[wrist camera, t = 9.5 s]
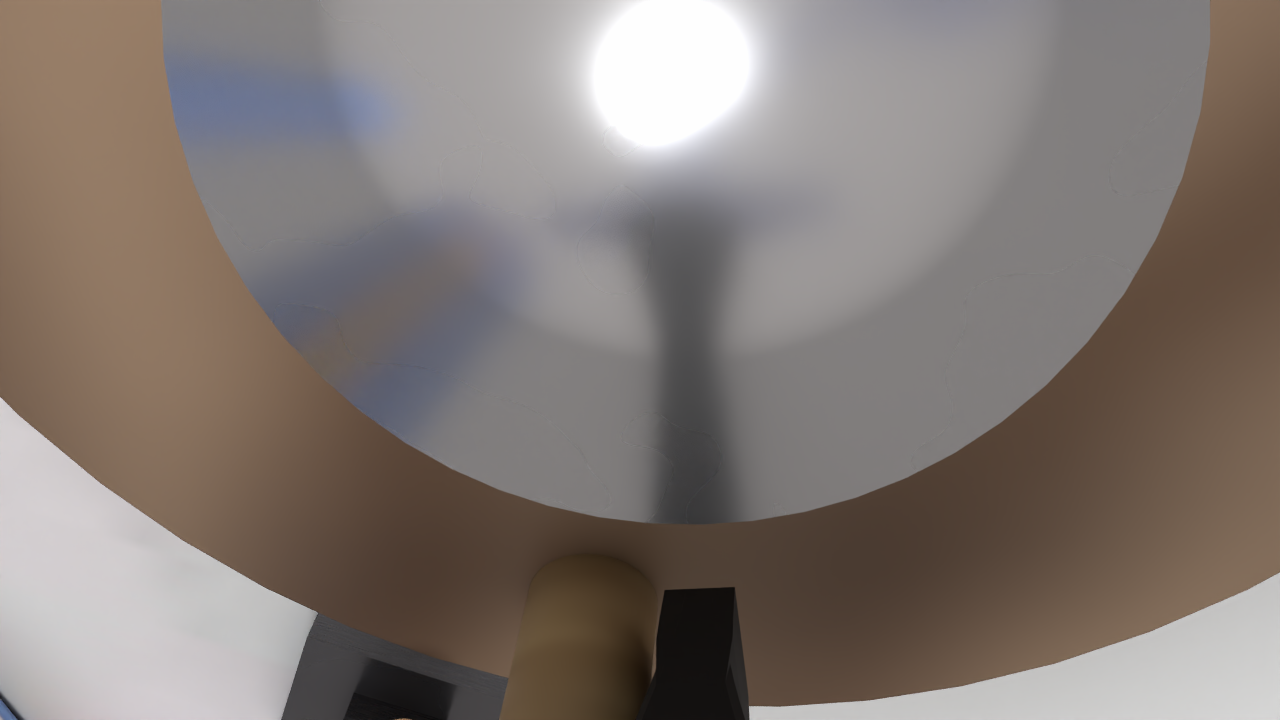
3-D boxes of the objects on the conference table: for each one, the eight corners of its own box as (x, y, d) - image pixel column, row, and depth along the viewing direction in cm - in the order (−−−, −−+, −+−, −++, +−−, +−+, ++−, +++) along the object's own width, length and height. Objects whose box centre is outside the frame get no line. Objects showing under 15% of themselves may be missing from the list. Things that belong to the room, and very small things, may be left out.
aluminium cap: (1254, -95, 8) (1471, -12, 6) (769, 439, 12) (779, 632, 10) (533, -689, 7) (414, -909, 4) (218, 132, 10) (54, 270, 8)
